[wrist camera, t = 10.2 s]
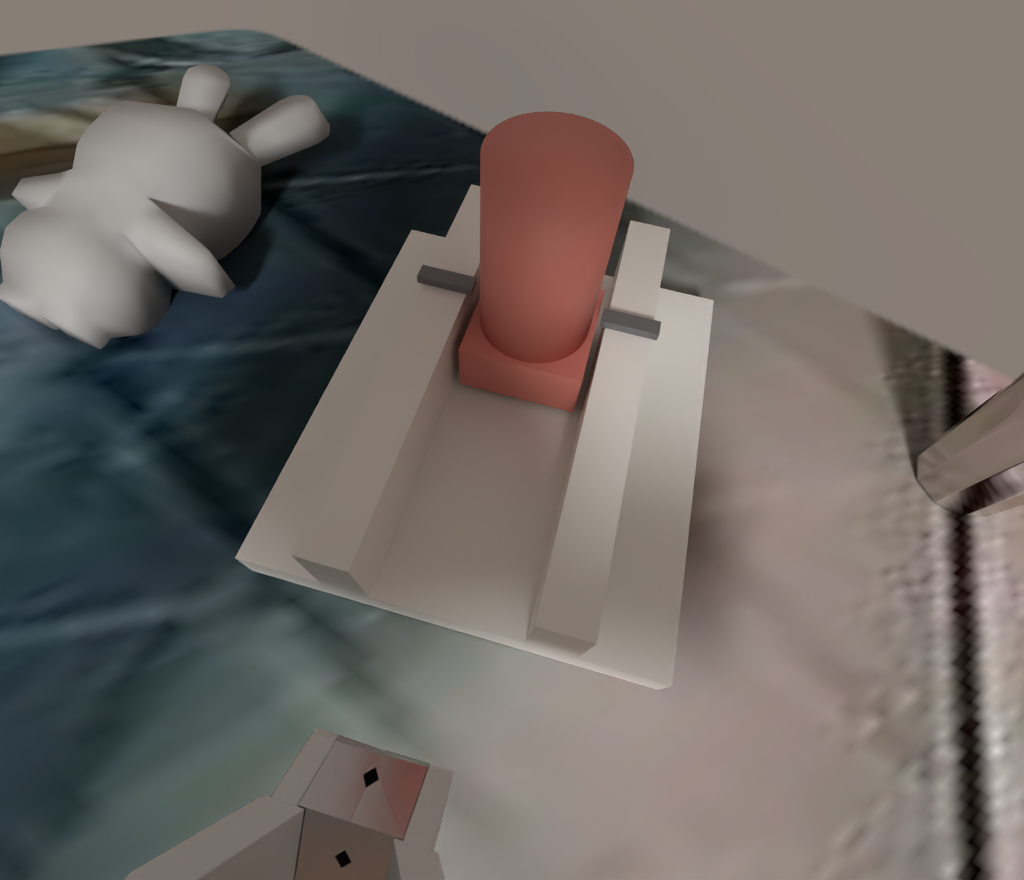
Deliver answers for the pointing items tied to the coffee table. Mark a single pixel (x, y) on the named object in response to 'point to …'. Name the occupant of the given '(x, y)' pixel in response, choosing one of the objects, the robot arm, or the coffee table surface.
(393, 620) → the coffee table surface
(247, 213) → the bunny figurine
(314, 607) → the coffee table surface
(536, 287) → the red plug
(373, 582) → the white slider track base
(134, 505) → the coffee table surface
